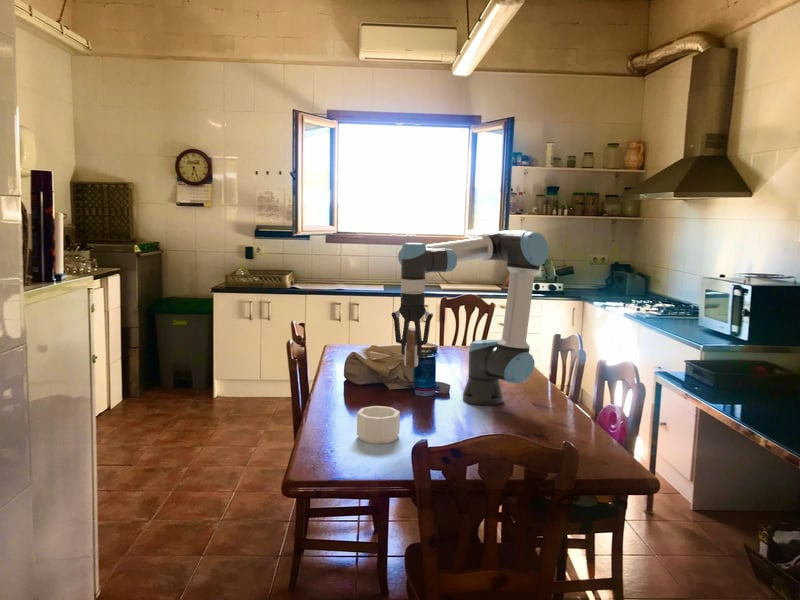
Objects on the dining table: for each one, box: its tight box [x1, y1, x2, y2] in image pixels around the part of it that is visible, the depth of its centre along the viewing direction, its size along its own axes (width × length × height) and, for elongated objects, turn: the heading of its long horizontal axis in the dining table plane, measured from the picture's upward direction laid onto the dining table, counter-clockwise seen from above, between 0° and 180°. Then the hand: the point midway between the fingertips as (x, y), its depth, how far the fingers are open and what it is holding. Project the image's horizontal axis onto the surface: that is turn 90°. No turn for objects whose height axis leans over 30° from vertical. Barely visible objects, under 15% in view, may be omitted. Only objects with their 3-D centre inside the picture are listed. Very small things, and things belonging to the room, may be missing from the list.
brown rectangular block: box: [405, 327, 417, 369], centre depth 207 cm, size 2×4×12 cm, turn 168°
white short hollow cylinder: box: [356, 405, 401, 445], centre depth 203 cm, size 12×12×8 cm
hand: (411, 365), depth 208 cm, fingers closed on brown rectangular block, 2 cm apart
